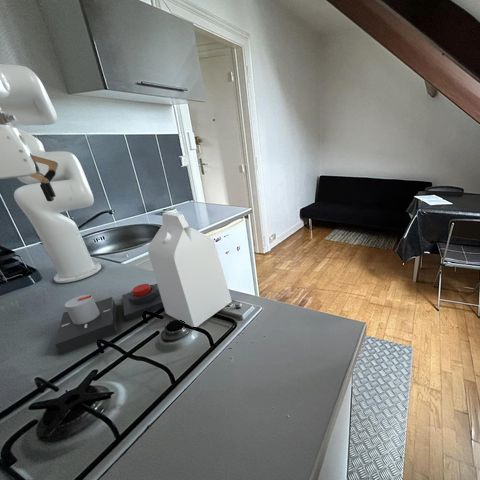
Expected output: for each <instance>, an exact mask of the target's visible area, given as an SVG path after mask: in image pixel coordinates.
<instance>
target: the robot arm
mask: <svg viewBox="0 0 480 480" xmlns="http://www.w3.org/2000/svg"><path fill="white" fill-rule="evenodd" d="M57 122H58V115H57V111H56V109H55V107H54V104H53V102H52V100H51V99H50V97H49V94H48V92H47V90H46V88H45V86H44V84H43V82H42V81H41V79H40V78H39V76H38V75H37V74H36V73H35V72H34V71H33V70H32V69H31V68H29V67H28V66H25V65H21V64H9V63H0V180H9V179H17V180H18V181H20V182H21V183H22V184H26V185H22V186H20V187H17V188H16V189H15V190H14V193H13V198H14V201H15V202H16V204H17V206H18V207H19V208H20V210H21V211H22V212H23V213H24V214H25V216H26V217H27V218H28V220H29V221H30V224H31V225H32V227H33V229H34V230H35V232H36V234H37V236H38V238H39V240H40V242H41V243H42V245H43V247H44V250H45V251H46V253H47V255H48V257H49V259H50V261H51V263H52V265H53V267H54V269H55V271H56V272H57V273H56V274H55V275H54V276H53V281H54V282H55V283H56V284H67V283H68V284H69V283H73V282H78V281H80V280H84V279H86V278H88V277H91V276H93V275H95V274H96V273H98V272H99V271H100V270H101V269H102V265H101V263H98V262H94V261H93V259H92V257H91V254H90V252H89V249H88V248H87V245H86V243H85V240H84V239H83V236H82V234H81V232H80V230H79V227H78V224H77V223H76V222H75V221H74V220H73V219H71V218H70V217H68V216H66V215H64V214H62V213H64V212H69V211H73V210H79V209H85V208H89V207H91V206H93V205H94V202H95V198H94V194H93V192H92V189H91V186H90V184H89V181H88V179H87V176H86V174H85V171H84V169H83V167H82V164H81V162H80V161H79V159H78V158H77V156H76V155H75V154H74V153H72V152H70V151H65V150H56V151H55V150H54V151H46V150H45V147H44V144H43V143H42V141H41V140H39V138H37V137H35V136H34V135H32V134H31V133H29V132H28V131H25V130H23V129H21V128H19V127H21V126H22V127H23V126H27V127H28V126H50V125H54V124H56V123H57Z"/></svg>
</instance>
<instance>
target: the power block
mask: <svg viewBox="0 0 480 480" xmlns="http://www.w3.org/2000/svg"><path fill="white" fill-rule="evenodd" d="M149 285H150V288H151V292H150V293H148V294H146V295H143V296H139V297H135V296H134V293H133V290H131V291H130V292H126V293H123V294H122V297H121V298H122V307H123V316H124V319H125V321H126V322H127V321H130V320H133V319H135V318H138V317H141V316H144V315H143V312H144V311H148V312H149V313H152V312H154V311H157V310H159V309H162V308H164V305H163V302H162V299H161V295H160V292H159V288H158V285H157V283H154V284H149Z"/></svg>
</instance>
